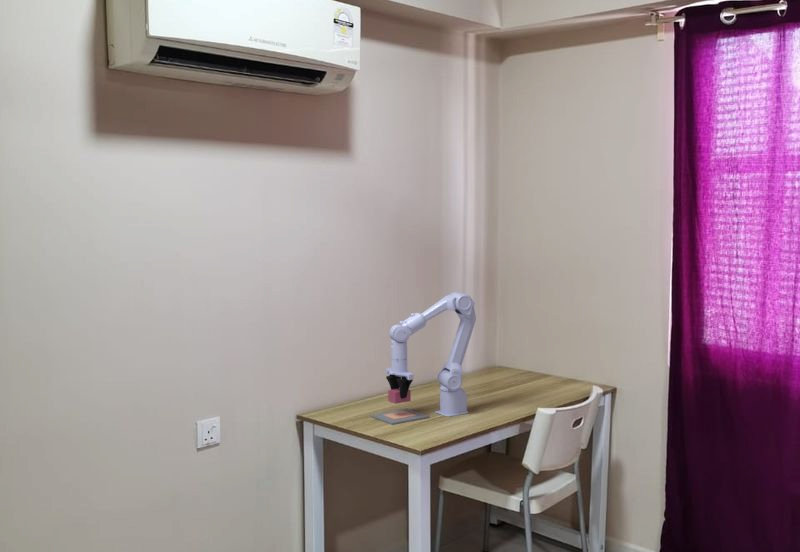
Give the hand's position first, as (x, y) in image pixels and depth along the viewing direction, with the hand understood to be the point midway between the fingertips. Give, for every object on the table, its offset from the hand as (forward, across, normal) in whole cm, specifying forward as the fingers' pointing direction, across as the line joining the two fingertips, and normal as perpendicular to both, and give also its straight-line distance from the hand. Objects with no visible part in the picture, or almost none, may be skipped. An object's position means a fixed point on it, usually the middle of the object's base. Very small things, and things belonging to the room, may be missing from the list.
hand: (399, 396), depth 284 cm
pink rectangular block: (+2, 0, 0) cm, 2 cm away
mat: (+7, 0, 0) cm, 7 cm away
